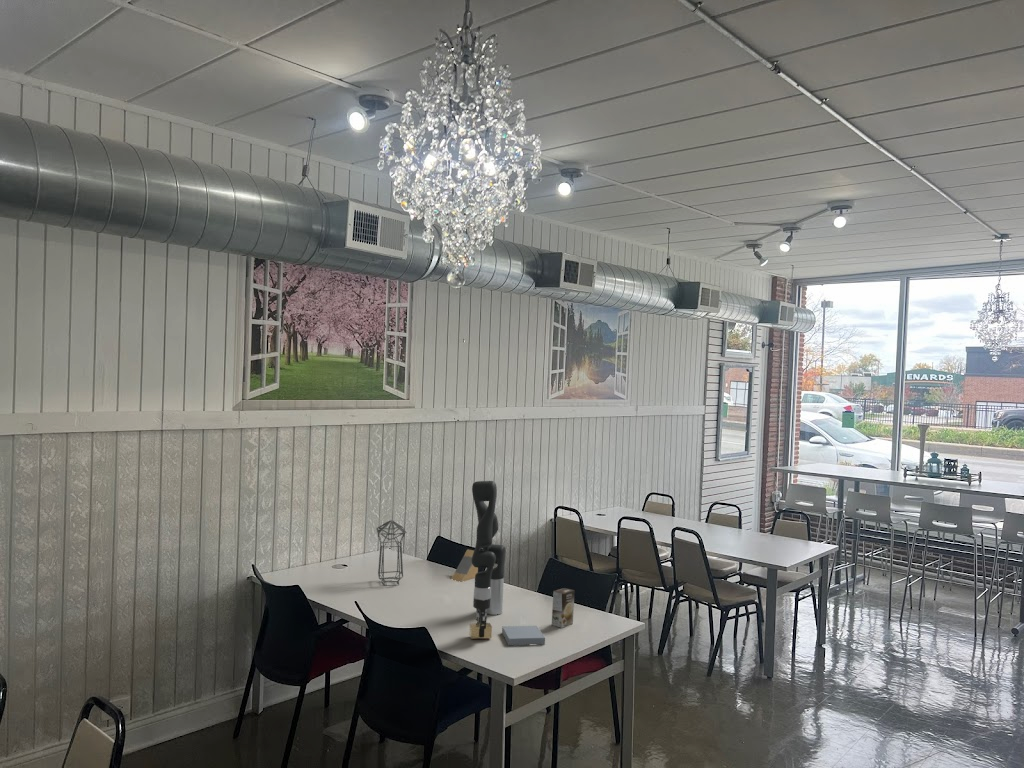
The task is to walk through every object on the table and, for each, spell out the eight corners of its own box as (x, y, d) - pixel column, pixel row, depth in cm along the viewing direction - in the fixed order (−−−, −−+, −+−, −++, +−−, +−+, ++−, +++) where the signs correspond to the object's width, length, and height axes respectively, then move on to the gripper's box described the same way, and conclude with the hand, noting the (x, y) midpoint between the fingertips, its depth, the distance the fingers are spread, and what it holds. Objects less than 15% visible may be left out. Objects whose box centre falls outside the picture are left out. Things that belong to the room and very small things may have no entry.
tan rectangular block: (469, 634, 328) (469, 623, 328) (489, 634, 330) (489, 622, 330) (471, 638, 323) (471, 627, 323) (491, 638, 325) (491, 626, 325)
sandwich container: (449, 579, 420) (450, 553, 420) (465, 574, 433) (467, 549, 433) (461, 582, 416) (463, 555, 416) (477, 577, 429) (478, 551, 429)
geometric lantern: (405, 587, 401) (407, 523, 401) (376, 588, 397) (377, 523, 397) (402, 578, 417) (404, 517, 416) (374, 580, 413) (375, 517, 412)
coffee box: (562, 628, 345) (563, 593, 345) (551, 624, 349) (552, 590, 349) (573, 623, 352) (574, 590, 352) (562, 620, 356) (563, 587, 356)
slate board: (502, 632, 334) (502, 626, 334) (536, 632, 338) (536, 625, 338) (508, 645, 319) (509, 638, 319) (544, 644, 322) (545, 637, 322)
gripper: (471, 591, 333) (469, 629, 333) (476, 601, 319) (474, 640, 319) (487, 591, 334) (486, 629, 334) (493, 601, 320) (491, 640, 320)
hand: (480, 634), depth 327 cm, fingers closed on tan rectangular block, 5 cm apart
